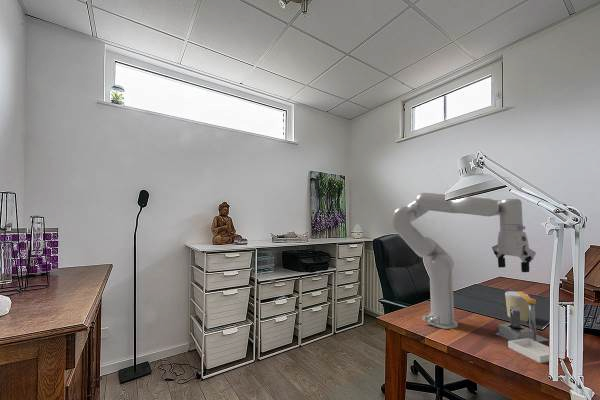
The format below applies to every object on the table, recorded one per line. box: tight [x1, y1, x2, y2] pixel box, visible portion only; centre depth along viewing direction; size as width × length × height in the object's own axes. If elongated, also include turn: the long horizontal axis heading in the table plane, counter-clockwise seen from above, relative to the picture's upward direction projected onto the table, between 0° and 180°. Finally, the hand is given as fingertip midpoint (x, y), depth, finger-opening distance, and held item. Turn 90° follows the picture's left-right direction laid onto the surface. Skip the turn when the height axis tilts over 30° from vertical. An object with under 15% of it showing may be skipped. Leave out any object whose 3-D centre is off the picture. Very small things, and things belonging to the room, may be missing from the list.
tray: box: [507, 338, 550, 364], centre depth 97 cm, size 10×11×3 cm
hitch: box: [494, 303, 550, 343], centre depth 110 cm, size 16×10×14 cm, turn 103°
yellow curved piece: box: [517, 291, 537, 305], centre depth 117 cm, size 14×3×2 cm, turn 158°
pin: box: [509, 306, 522, 330], centre depth 109 cm, size 3×3×12 cm
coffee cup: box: [504, 290, 529, 323], centre depth 130 cm, size 9×9×12 cm
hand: (513, 269), depth 110 cm, fingers open, 9 cm apart
